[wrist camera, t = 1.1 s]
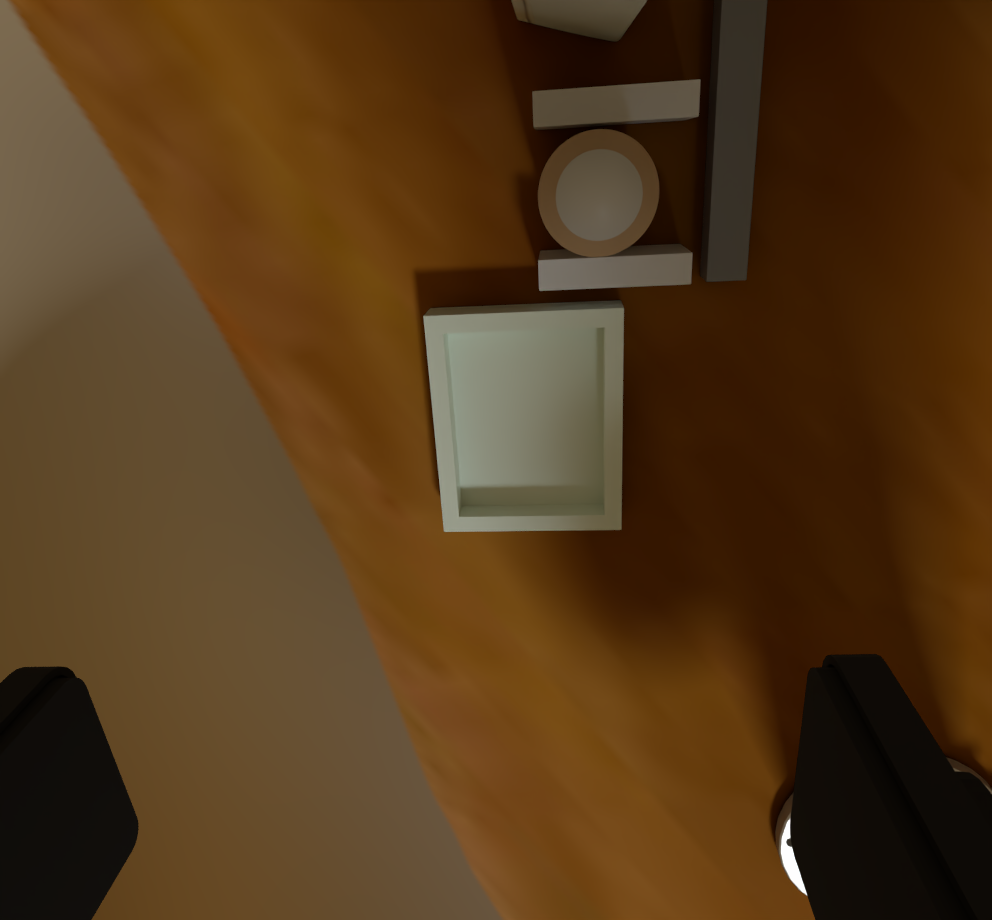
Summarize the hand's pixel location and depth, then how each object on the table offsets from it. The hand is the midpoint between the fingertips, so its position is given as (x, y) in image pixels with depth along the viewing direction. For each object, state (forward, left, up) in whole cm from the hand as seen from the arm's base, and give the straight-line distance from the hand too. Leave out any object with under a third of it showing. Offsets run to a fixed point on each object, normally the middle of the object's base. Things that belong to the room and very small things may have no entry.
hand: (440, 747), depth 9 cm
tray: (0, +4, -26) cm, 26 cm away
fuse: (-3, -6, -26) cm, 26 cm away
